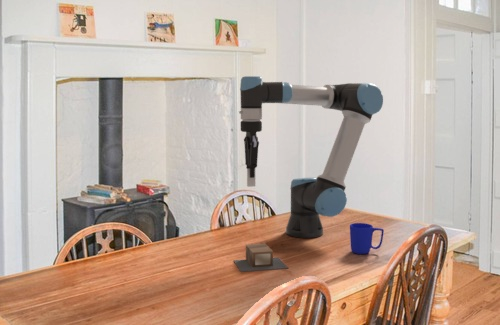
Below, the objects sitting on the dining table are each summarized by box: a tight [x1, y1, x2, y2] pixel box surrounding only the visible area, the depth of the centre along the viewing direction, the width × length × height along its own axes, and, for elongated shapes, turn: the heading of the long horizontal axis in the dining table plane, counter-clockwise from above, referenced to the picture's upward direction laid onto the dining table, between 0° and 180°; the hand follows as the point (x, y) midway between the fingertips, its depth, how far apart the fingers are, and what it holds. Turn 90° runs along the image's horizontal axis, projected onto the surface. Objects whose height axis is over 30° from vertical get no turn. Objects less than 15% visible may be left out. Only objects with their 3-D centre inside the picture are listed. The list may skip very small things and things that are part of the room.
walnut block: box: [245, 243, 274, 267], centre depth 196 cm, size 5×7×10 cm
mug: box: [349, 222, 384, 255], centre depth 209 cm, size 8×12×10 cm
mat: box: [233, 256, 289, 273], centre depth 195 cm, size 12×16×1 cm
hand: (251, 186), depth 206 cm, fingers closed
